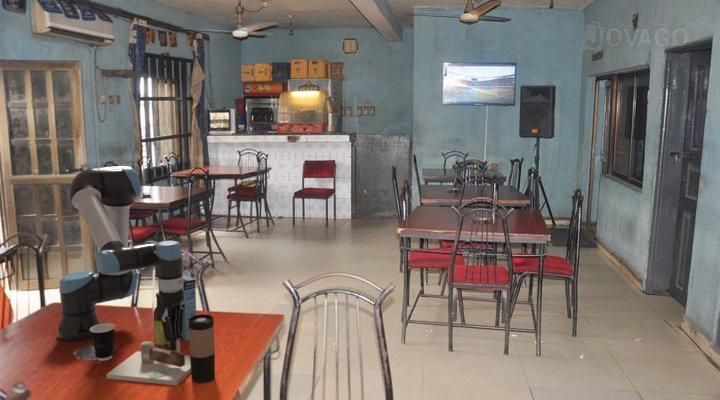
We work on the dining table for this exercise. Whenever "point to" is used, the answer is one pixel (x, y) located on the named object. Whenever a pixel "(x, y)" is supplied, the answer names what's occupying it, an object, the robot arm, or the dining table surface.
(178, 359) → the grey hammer
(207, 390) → the dining table surface
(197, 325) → the travel mug
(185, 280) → the gum box
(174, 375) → the board
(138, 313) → the dining table surface
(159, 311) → the sauce bottle
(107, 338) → the dixie cup
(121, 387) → the dining table surface
